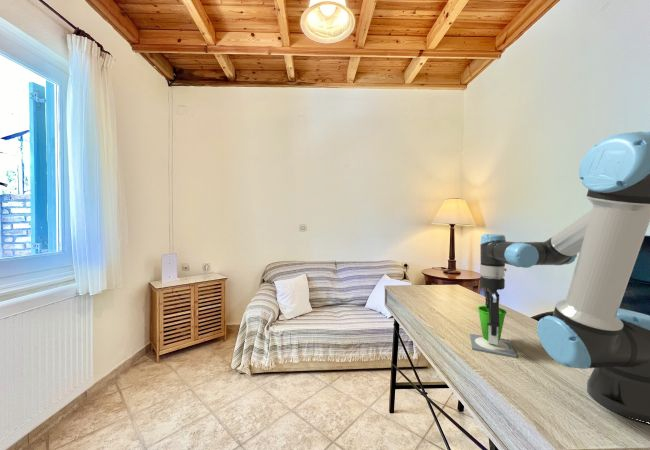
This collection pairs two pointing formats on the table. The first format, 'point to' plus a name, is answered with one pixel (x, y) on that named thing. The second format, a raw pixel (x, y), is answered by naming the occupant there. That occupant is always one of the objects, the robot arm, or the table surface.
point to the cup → (485, 319)
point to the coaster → (492, 346)
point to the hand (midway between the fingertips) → (491, 337)
